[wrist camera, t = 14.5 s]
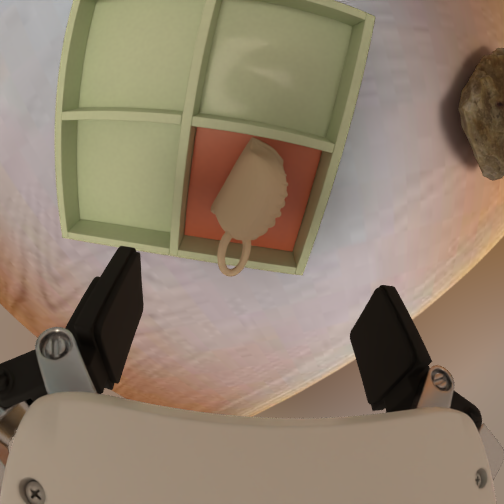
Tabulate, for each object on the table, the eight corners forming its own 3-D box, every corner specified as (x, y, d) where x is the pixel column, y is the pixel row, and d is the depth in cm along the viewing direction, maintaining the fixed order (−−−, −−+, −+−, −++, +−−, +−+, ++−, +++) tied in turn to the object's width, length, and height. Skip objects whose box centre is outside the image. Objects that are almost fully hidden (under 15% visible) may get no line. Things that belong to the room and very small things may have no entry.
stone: (486, 194, 20) (514, 187, 13) (431, 140, 22) (440, 114, 15) (534, 114, 15) (562, 89, 8) (481, 65, 17) (496, 28, 10)
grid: (360, 23, 15) (376, 16, 12) (297, 255, 26) (302, 275, 23) (94, -4, 12) (76, -11, 10) (77, 222, 23) (62, 237, 21)
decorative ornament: (299, 163, 21) (315, 186, 16) (242, 245, 24) (241, 285, 20) (253, 134, 19) (256, 149, 15) (199, 223, 23) (188, 259, 19)
